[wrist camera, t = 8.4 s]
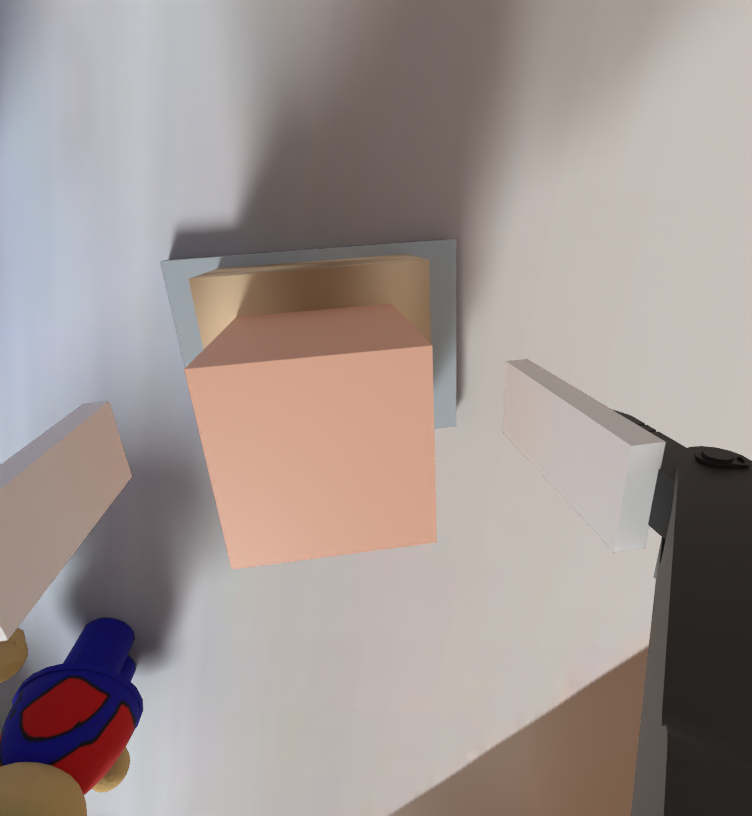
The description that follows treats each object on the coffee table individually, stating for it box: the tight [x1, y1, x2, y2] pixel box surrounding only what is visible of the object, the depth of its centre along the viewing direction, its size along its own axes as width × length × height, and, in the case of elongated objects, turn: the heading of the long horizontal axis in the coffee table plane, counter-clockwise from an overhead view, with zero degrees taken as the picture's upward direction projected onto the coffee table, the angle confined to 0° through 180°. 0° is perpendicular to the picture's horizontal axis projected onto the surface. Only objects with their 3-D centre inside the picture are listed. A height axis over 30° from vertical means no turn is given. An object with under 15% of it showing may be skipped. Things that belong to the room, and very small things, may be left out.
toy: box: [0, 618, 143, 816], centre depth 23 cm, size 11×9×15 cm
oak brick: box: [188, 254, 431, 349], centre depth 21 cm, size 9×9×5 cm
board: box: [160, 239, 456, 429], centre depth 24 cm, size 14×10×1 cm
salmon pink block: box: [184, 304, 437, 569], centre depth 15 cm, size 6×6×7 cm
